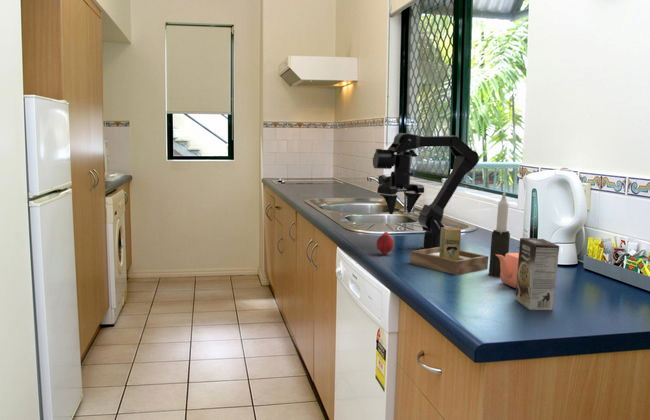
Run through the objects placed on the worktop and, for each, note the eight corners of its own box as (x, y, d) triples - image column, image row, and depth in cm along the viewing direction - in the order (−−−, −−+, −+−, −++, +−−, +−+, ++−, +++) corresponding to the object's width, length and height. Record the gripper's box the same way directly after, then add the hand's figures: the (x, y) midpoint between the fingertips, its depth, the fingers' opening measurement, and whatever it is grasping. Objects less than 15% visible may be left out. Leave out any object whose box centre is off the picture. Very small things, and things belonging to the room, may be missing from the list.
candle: (507, 274, 186) (513, 192, 183) (506, 277, 181) (513, 193, 178) (489, 272, 188) (496, 191, 185) (488, 275, 183) (494, 192, 180)
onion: (392, 257, 205) (393, 233, 204) (375, 255, 206) (376, 232, 205) (393, 253, 211) (395, 230, 210) (377, 252, 212) (378, 229, 211)
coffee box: (513, 299, 157) (519, 237, 155) (538, 300, 158) (543, 238, 156) (528, 310, 148) (534, 244, 146) (554, 310, 149) (560, 244, 147)
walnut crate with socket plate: (441, 258, 206) (442, 246, 206) (487, 268, 193) (488, 256, 193) (410, 263, 196) (410, 251, 195) (456, 274, 182) (457, 261, 182)
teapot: (561, 291, 168) (565, 254, 167) (504, 293, 163) (507, 255, 162) (536, 281, 179) (539, 246, 178) (481, 283, 174) (484, 246, 173)
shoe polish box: (438, 264, 197) (441, 227, 195) (453, 264, 197) (456, 227, 196) (442, 267, 192) (445, 229, 190) (458, 268, 192) (461, 230, 191)
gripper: (402, 167, 227) (400, 209, 229) (367, 167, 215) (365, 212, 217) (426, 169, 219) (423, 213, 221) (390, 170, 206) (388, 216, 208)
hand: (399, 213), depth 217 cm, fingers open, 9 cm apart
